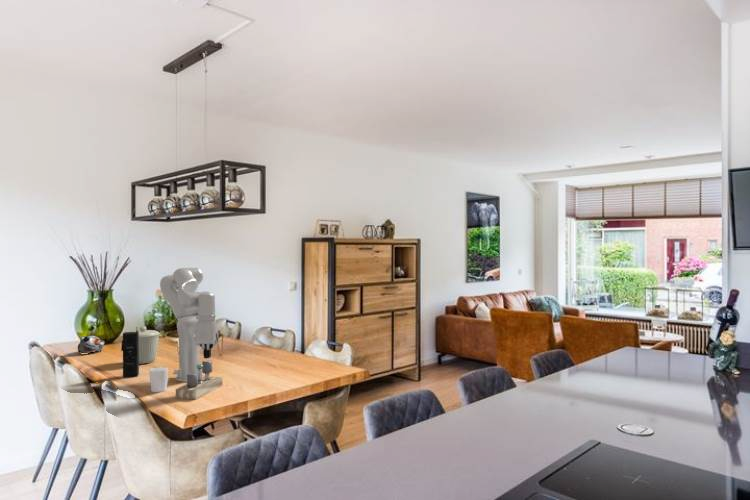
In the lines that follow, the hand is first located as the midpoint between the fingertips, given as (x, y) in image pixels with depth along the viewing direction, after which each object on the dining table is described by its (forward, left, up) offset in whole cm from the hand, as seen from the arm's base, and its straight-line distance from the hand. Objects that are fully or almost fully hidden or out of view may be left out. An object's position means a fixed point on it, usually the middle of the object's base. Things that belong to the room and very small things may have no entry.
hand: (207, 357), depth 229 cm
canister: (-66, +40, -15) cm, 79 cm away
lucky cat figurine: (-118, +58, -15) cm, 132 cm away
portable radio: (-52, +12, -15) cm, 56 cm away
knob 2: (0, 0, -11) cm, 11 cm away
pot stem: (0, -6, -10) cm, 12 cm away
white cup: (-20, -8, -15) cm, 26 cm away
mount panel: (0, -6, -14) cm, 15 cm away
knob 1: (0, -12, -14) cm, 18 cm away
